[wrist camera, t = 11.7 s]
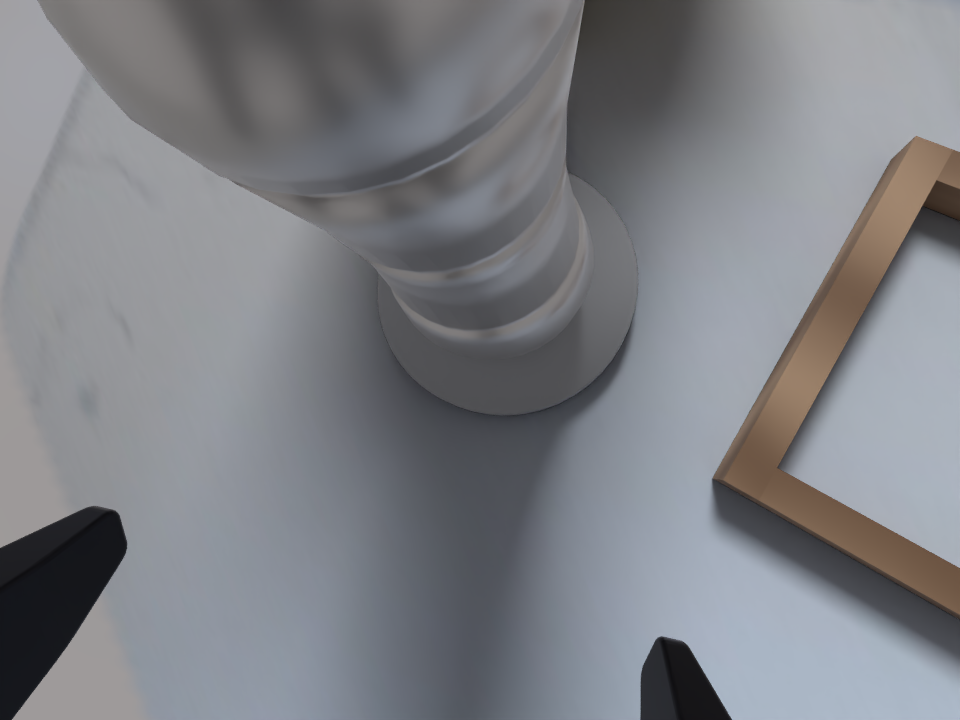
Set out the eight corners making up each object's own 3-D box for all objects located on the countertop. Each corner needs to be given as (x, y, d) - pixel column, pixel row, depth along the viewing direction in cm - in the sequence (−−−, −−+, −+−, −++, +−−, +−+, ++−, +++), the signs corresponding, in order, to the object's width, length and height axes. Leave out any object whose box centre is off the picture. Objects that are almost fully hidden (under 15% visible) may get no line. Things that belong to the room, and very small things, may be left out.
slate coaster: (672, 371, 20) (677, 367, 19) (418, 446, 21) (410, 446, 20) (589, 139, 22) (589, 125, 21) (362, 219, 23) (353, 209, 22)
